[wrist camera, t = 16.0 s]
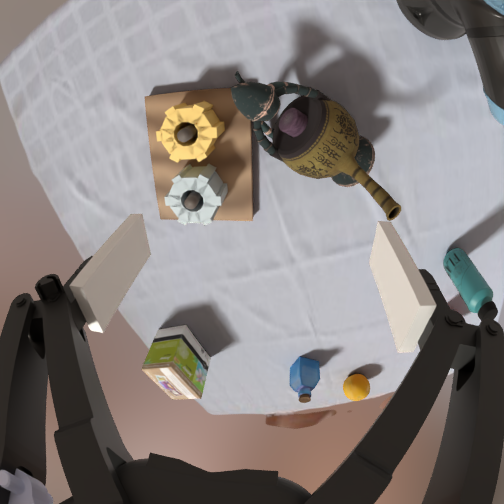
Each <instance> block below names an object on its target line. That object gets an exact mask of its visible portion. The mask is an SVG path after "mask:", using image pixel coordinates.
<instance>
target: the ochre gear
mask: <svg viewBox="0 0 504 504" xmlns="http://www.w3.org/2000/svg"><path fill="white" fill-rule="evenodd" d="M212 107H213V105H212V104H210V103H208V102H206V101H203V102H200V103H197V104H194V105H188V106H187V104H186V103H182V104H179V105H175V106H172V107H171V108H170V109H168V110H167V111H166V112H165V114H166V115H167V117H166V118H165V120H164V122H163V125H162V127H161V129H160V130H158V131H156V135H157V141H162V144H163V145H164V147H165V148H166V150H167V151H168V152H169V154H171V155H170V157H169V159H171V160H173V161H175V162H177V163H178V162H179V161H181V160H183V159H195V158H196V159H197V160H198V162H200V161H201V160H203V159H204V158H206V157H207V156H208V155H209V154H210V153H211V152H212V151H213V150H214V149H215V146H214V145H213V144H214V143H215V141H216V140H217V138H218V136H220V135H221V134H222V133H223V132H224V131H225V127H224V122H220V120H219V118H218V117H217V115H216V114H215V112H214V111H213V110H212ZM187 122H189V123H192V124H194V126H195V127H196V128H197V130H198V138H193V137H192V138H191V139H190V140H188V141H187V142H181V141H179V140H178V138H177V133H178V132H179V131H180V130H181V129H183V128H185V127H186V123H187Z"/></svg>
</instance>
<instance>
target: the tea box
mask: <svg viewBox="0 0 504 504" xmlns="http://www.w3.org/2000/svg"><path fill="white" fill-rule="evenodd" d="M209 363H210V357H209V356H208V354H207V353H206V352H205V350H204V349H203V347H202V346H201V345H200V344H199V342H198V341H197V339H196V338H195V337H194V335H193V334H192V332H191V331H190V330H189V328H188V327H187V325H182V326H176V327H171V328H165V329H160V330H158V331H157V334H156V336H155V338H154V340H153V343H152V345H151V347H150V350H149V353H148V355H147V357H146V359H145V362H144V365H143V367H142V370H143V371H144V372H145V373H146V374H147V375H148V376H149V377H150V378H151V379H152V380H153V381H154V382H155V383H156V384H157V385H158V386H159V387H160V388H161V389H162V390H163V391H164V392H165V393H166V394H167V395H168V396H169V397H171V399H172V400H174V399H196V398H200V399H201V397H202V393H203V388H204V384H205V380H206V376H207V372H208V367H209Z"/></svg>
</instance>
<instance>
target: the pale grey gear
mask: <svg viewBox="0 0 504 504" xmlns="http://www.w3.org/2000/svg"><path fill="white" fill-rule="evenodd" d="M215 170H216V167H214V166H213V165H211V164H208V165H207V166H199V167H192V166H191V165H190V164H189V165H188V166H186V167H185V168H183V169H182V170H181V171H180V172H179V173H178V174H177V175H176V176H175V177H174V178H173V179H172V181H173V183H174V184H173V186H172V188H171V190H170V191H169V192H168V193H167V194H166V196H165V197H164V198H165V204H166V206H170V208H171V209H172V210H173V212H174V213H175V214H176V216H177V217H178V218H179V219H178V222H180V223H182V224H184V225H186V224H187V222H188V223H203V224H204V226H205V225H207V224H209V223H211V222H212V221H213V219H214V217H215V215H216V213H217V211H218V209H219V206H221V205H222V203H223V201H224V199H225V197H226V194H227V192H228V188H227V183H223V181H222V180H221V178H220V177H219V175H218V174H217V172H215ZM192 190H195V191H197V192H199V193H200V194H201V196H202V198H201V199H200V201H199V202H198V204H197V206H196V207H195V208H194V209H188V208H187V207H186V206H185V204H184V202H185V200H186V198H187V197H188V196H189V194H190V193H191V192H192Z"/></svg>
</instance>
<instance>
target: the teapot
mask: <svg viewBox="0 0 504 504" xmlns="http://www.w3.org/2000/svg"><path fill="white" fill-rule="evenodd" d="M235 77H236V79H237V80H238V82H239V83H240V84H238V85H236V86H234V87H231V94H232V98H233V101H234V103H235V105H236V107H237V108H238V110H239V111H240V112H241V113H242V114H243V115H244V116H245V117H246V118H247V119H249V120H251V121H253V122H254V128H253V130H254V133H255V135H256V137H257V142H258V143H259V144H260V145H261V146H262V147H263V148H264V150H265V151H266V152H268V153H269V154H270V155H271V156H273V157H275V158H277V159H279V160H281V161H283V162H284V163H285V164H286V165H287V166H288V167H290V168H291V169H292V170H293V171H295V172H297V173H298V174H300V175H304V176H307V177H311V178H316V179H320V178H327V177H331V178H332V180H333V181H334V182H335V183H337V184H338V185H340V186H344V187H350V186H354V185H356V184H358V183H360V184H361V185H362V186H363V187H364V188H365V189H366V190H367V191H368V192H369V193H370V194H371V196H372V197H373V198H374V199H375V201H376V202H377V203H378V204H379V205H380V207H381V208H382V209H383V210H384V212H385V213H386V217H387V220H390V221H391V220H393V219H395V218H396V217H397V216H398V215H399V213H400V211H401V206H400V205H399V204H398V203H396V202H395V201H394V199H393V198H392V197H391V196H390V195H389V194H388V193H387V192H386V191H385V190H384V189H383V188H382V187H381V186H380V185H379V184H378V183H376V182H375V181H374V180H373V179H372V178H371V177H370V176H369V175H368V174H369V173H370V171H371V169H372V167H373V164H374V161H375V151H374V148H373V145H372V144H371V143H370V141H369V140H368V139H366V138H364V137H362V136H359V134H358V131H357V127H356V124H355V121H354V119H353V118H352V117H351V116H350V114H349V113H348V112H347V111H346V110H345V109H344V108H343V107H342V106H341V105H340V104H338V103H337V102H335V101H332V100H330V99H329V98H328V97H327V96H325V95H324V94H323V93H321V92H320V91H319V90H315V89H313V88H311V87H305V86H302V85H298V84H294V83H288V82H273V83H270V84H268V85H265V84H261V83H255V82H247V83H245V82H244V81H243V79H242V78H241V77H240V75H239V73H238V71H237V72H236V74H235ZM291 93H295V94H300V95H303V96H301V97H299V98H297V99H295V100H294V101H292V102H291V103H290V104H289V105H288V106H287V107H286V108H285V109H284V111H283V112H282V113H281V115H280V117H279V118H278V120H277V122H276V125H275V127H274V130H273V129H272V128H270V127H269V126H268V125H267V124H266V123H265V122H264V121H269V120H271V119H272V118H273V117H274V116H275V115H276V114H277V112H278V110H279V108H280V100H279V98H278V97H279V96H281V95H284V94H291ZM263 132H264V133H265V134H266V135H267V136H269V137H271V138H272V140H273V144H272V142H270V141H269V140H268V139H267V137H266V136H265V135H264V133H263Z"/></svg>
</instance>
